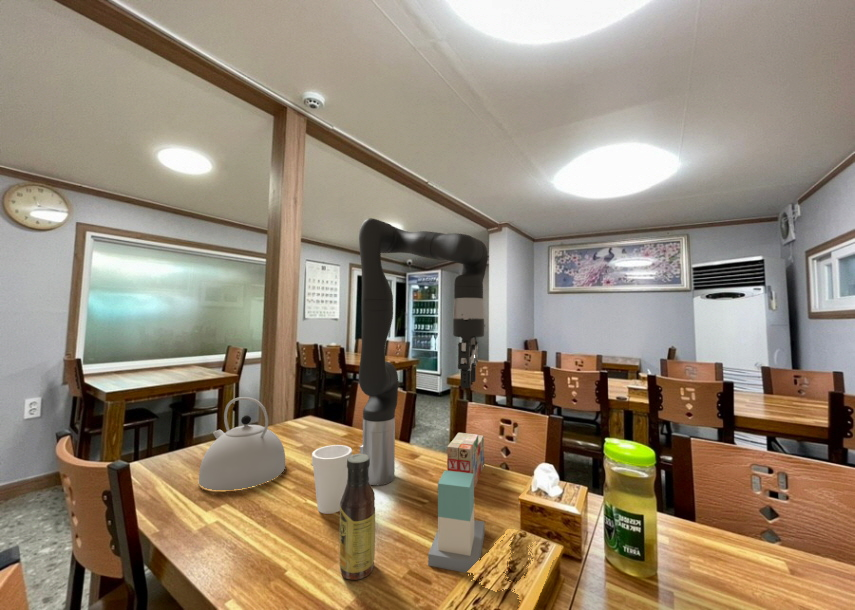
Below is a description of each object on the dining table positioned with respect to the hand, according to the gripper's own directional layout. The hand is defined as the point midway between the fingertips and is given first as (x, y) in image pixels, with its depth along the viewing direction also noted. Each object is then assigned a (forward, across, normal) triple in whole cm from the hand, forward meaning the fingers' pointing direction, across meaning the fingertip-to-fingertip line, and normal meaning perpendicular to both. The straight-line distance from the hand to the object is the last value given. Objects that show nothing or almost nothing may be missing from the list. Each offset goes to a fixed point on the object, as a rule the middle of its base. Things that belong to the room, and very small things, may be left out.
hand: (468, 384), depth 81 cm
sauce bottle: (+30, +24, -16) cm, 42 cm away
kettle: (+31, -2, -69) cm, 75 cm away
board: (+30, +13, 0) cm, 32 cm away
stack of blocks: (+30, -18, -3) cm, 35 cm away
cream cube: (+28, +15, 0) cm, 32 cm away
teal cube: (+22, +15, 0) cm, 26 cm away
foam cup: (+30, +7, -32) cm, 45 cm away
